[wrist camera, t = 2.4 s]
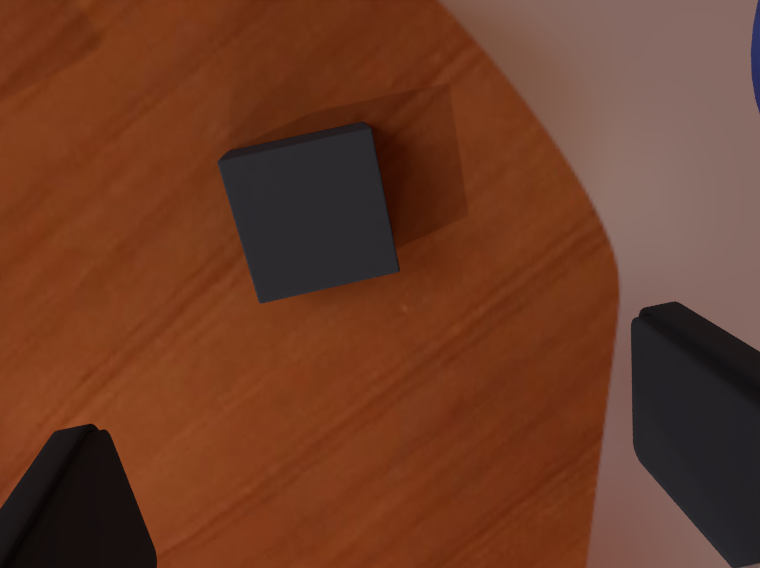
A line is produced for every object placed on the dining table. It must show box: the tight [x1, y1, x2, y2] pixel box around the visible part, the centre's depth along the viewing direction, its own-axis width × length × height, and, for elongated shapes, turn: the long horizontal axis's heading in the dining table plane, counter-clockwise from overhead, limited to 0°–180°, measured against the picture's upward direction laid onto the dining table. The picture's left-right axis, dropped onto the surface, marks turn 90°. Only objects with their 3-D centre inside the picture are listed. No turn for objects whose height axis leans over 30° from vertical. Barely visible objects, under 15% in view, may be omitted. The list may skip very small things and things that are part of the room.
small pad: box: [218, 122, 400, 303], centre depth 25 cm, size 6×6×3 cm
